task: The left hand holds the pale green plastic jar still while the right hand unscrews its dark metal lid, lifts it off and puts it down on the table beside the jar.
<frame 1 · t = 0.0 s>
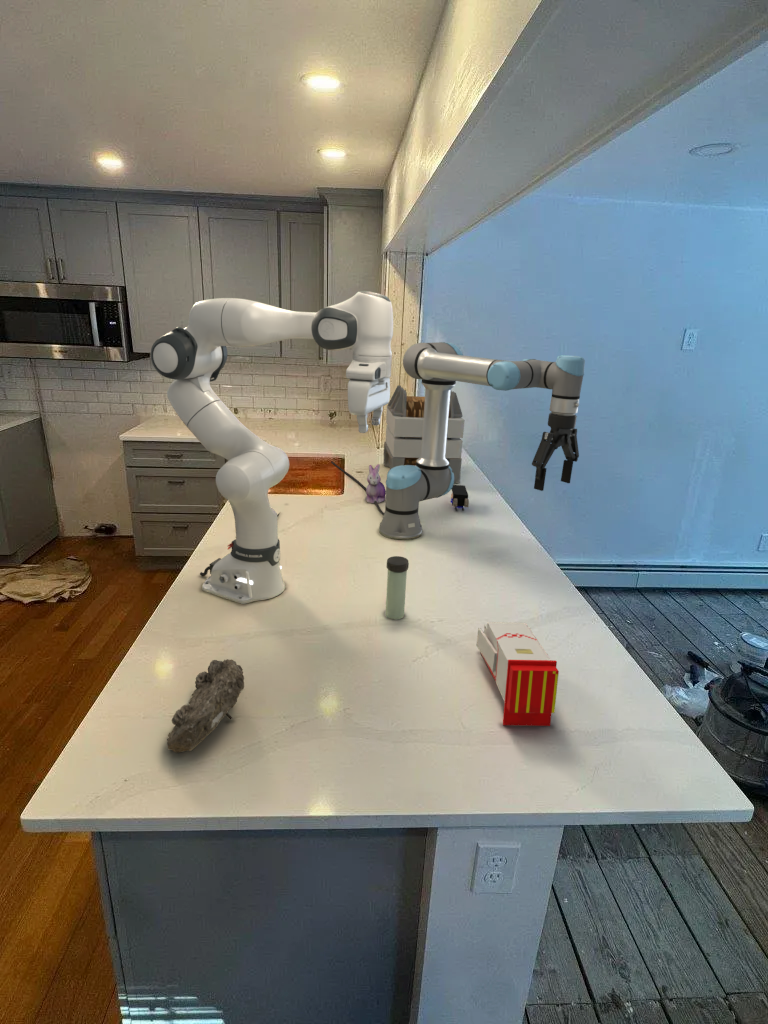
left hand: (369, 428, 133), 48 cm above the counter, tool pointing down, fingers open, 8 cm apart
right hand: (552, 485, 166), 28 cm above the counter, tool pointing down, fingers open, 13 cm apart
lid: (397, 561, 142), point 15 cm above the counter, screwed on, not yet turned
figurine: (375, 500, 233), on the counter
toy: (509, 682, 122), on the counter
grey slatted crate: (419, 473, 275), on the counter
jar: (394, 614, 147), on the counter
figurine character: (458, 507, 230), on the counter
feather: (278, 516, 211), on the counter
fossil: (212, 717, 108), on the counter
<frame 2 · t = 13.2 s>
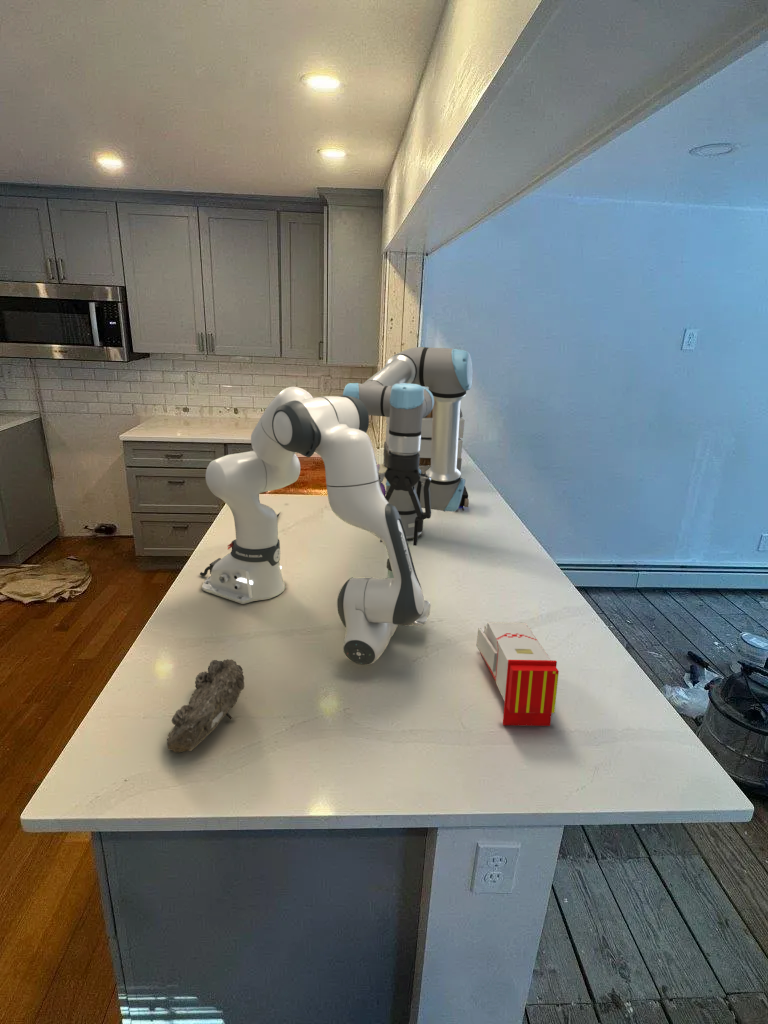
left hand: (396, 591, 146), 6 cm above the counter, tool horizontal, fingers closed on jar, 5 cm apart
right hand: (398, 541, 140), 21 cm above the counter, tool pointing down, fingers open, 7 cm apart
jar: (394, 614, 147), on the counter, touching left hand
everything else where it was.
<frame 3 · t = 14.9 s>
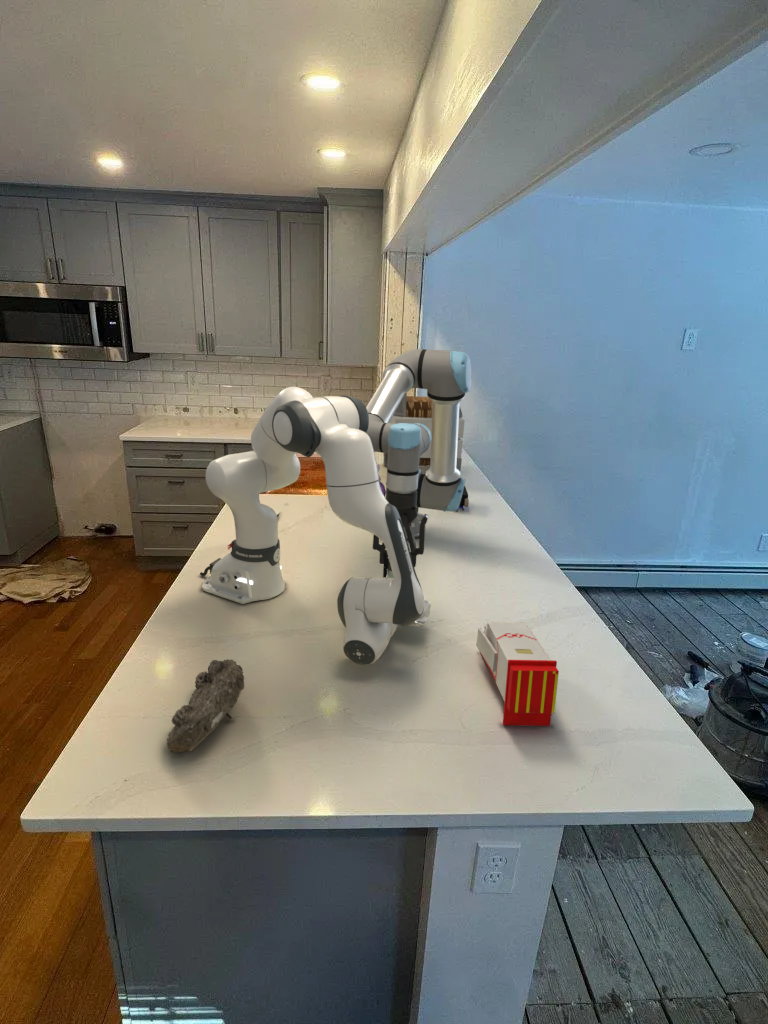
left hand: (396, 591, 146), 6 cm above the counter, tool horizontal, fingers closed on jar, 5 cm apart
right hand: (397, 576, 143), 11 cm above the counter, tool pointing down, fingers closed on lid, 5 cm apart
lid: (397, 561, 142), point 15 cm above the counter, screwed on, not yet turned, touching right hand
jar: (394, 614, 147), on the counter, touching left hand
everything else where it was.
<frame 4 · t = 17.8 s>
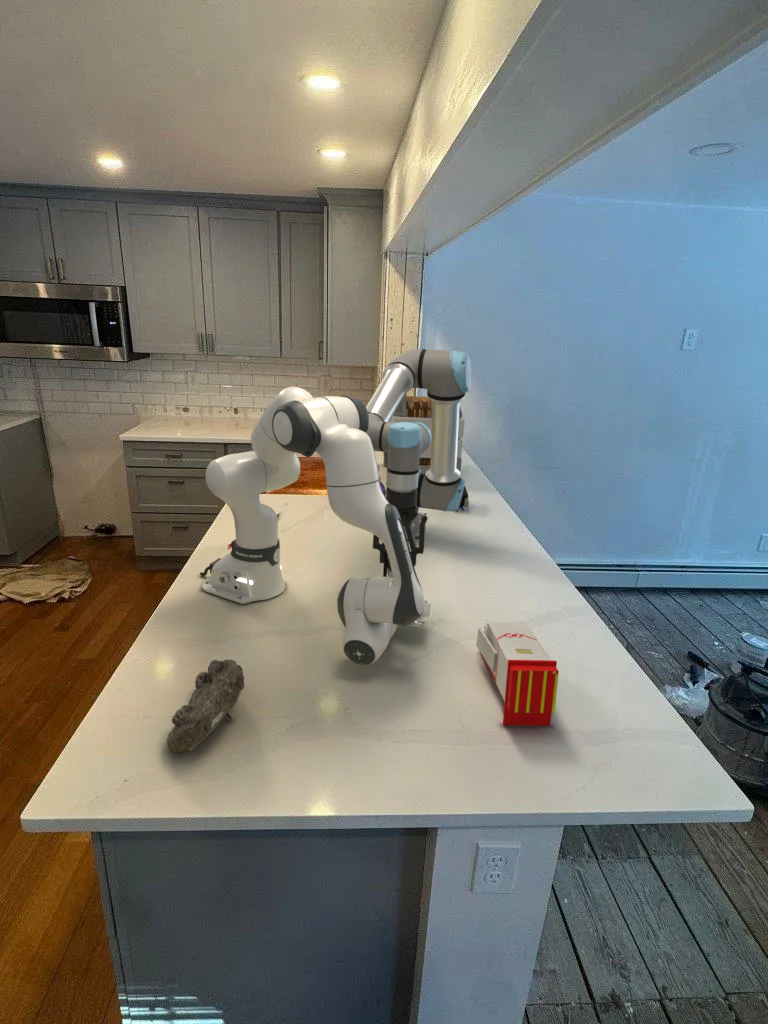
left hand: (396, 591, 146), 6 cm above the counter, tool horizontal, fingers closed on jar, 5 cm apart
right hand: (397, 575, 143), 11 cm above the counter, tool pointing down, fingers closed on lid, 5 cm apart
lid: (397, 561, 142), point 15 cm above the counter, turned 75° so far, risen 0.2 cm, still on its thread, touching right hand
jar: (394, 614, 147), on the counter, touching left hand
everything else where it was.
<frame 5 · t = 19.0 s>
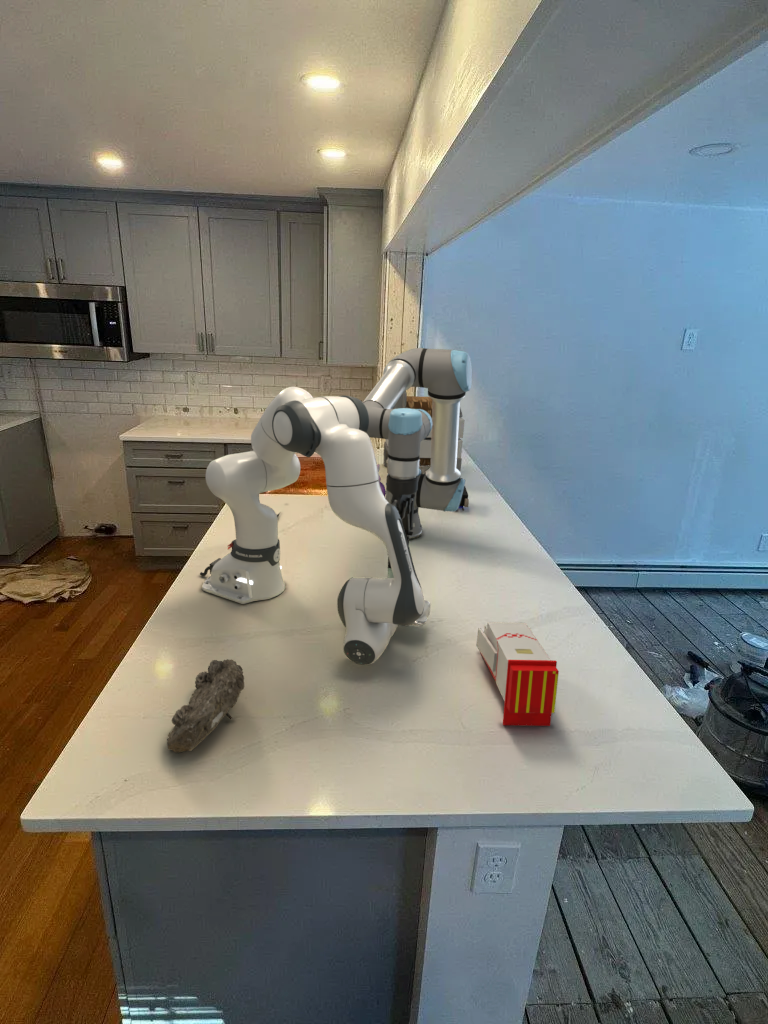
left hand: (396, 591, 146), 6 cm above the counter, tool horizontal, fingers closed on jar, 5 cm apart
right hand: (397, 563, 143), 14 cm above the counter, tool pointing down, fingers closed on lid, 5 cm apart
lid: (398, 548, 141), point 19 cm above the counter, off its thread, touching right hand
jar: (394, 614, 147), on the counter, touching left hand
everything else where it was.
when the right hand's fingers open (0 cm above the counter, at t = 23.1 s): lid stays where it is, point 2 cm above the counter.
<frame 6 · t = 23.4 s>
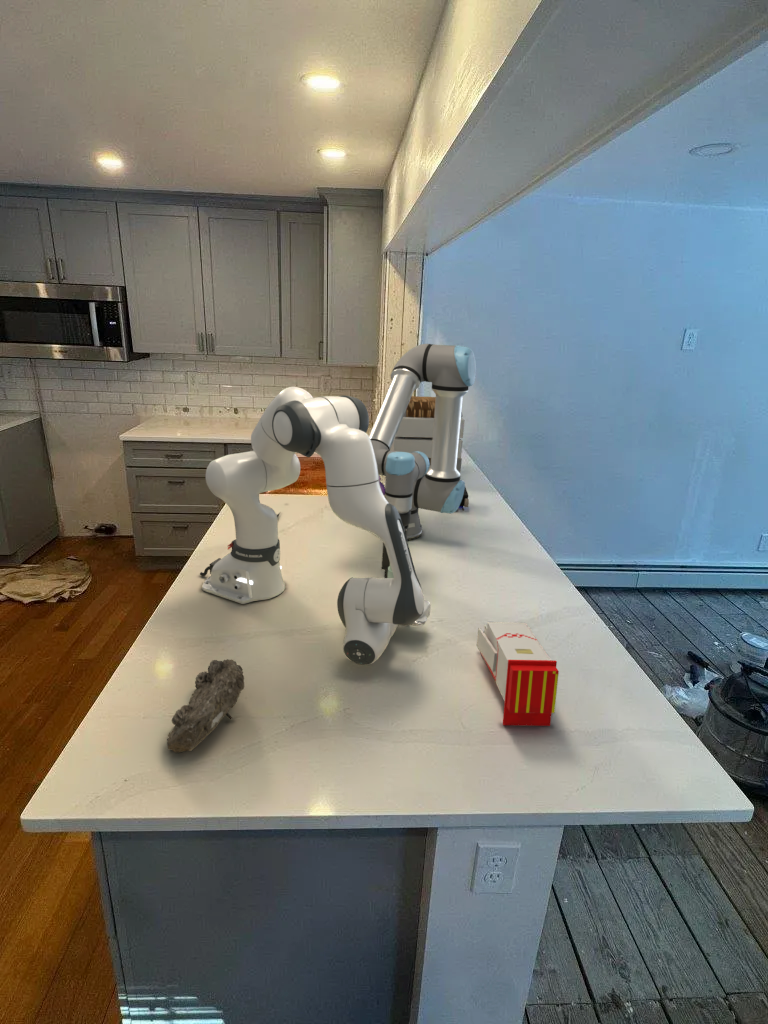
left hand: (396, 591, 146), 6 cm above the counter, tool horizontal, fingers closed on jar, 5 cm apart
right hand: (392, 585, 162), 0 cm above the counter, tool pointing down, fingers open, 6 cm apart
lid: (393, 580, 162), point 2 cm above the counter, off its thread
jar: (394, 614, 147), on the counter, touching left hand
everything else where it was.
when the left hand's fingers open (6 cm above the counter, at t = 24.8 s): jar stays where it is, on the counter.
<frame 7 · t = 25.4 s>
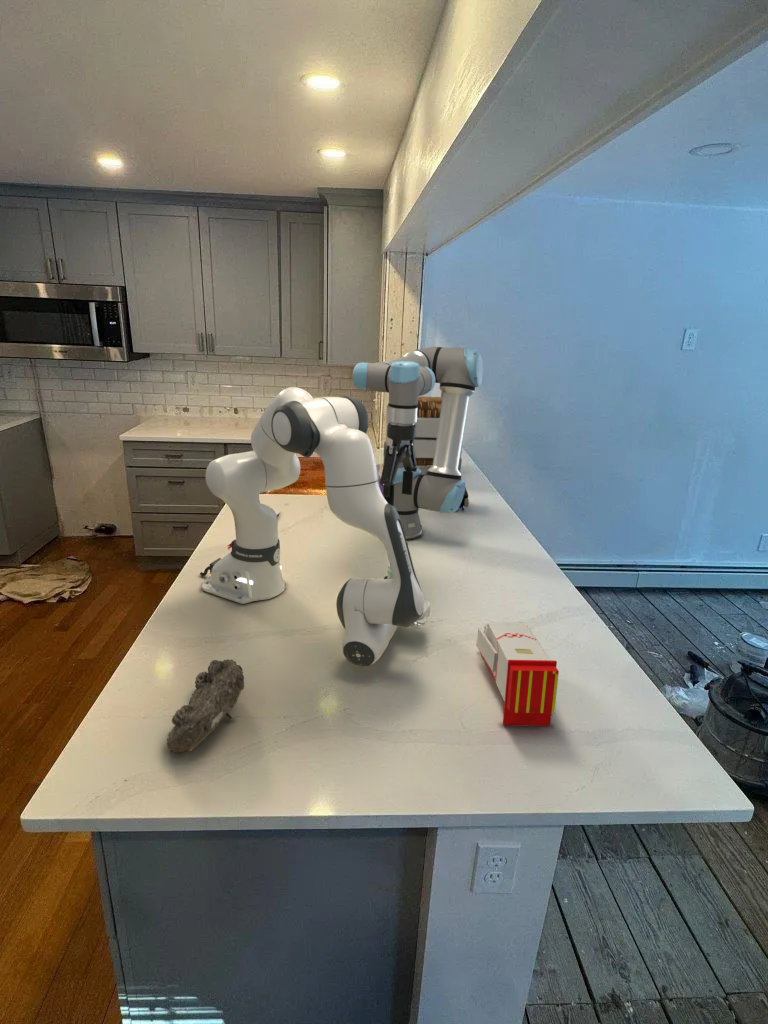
left hand: (396, 592, 145), 6 cm above the counter, tool horizontal, fingers open, 8 cm apart
right hand: (397, 500, 154), 26 cm above the counter, tool pointing down, fingers open, 13 cm apart
jar: (394, 614, 147), on the counter
everything else where it was.
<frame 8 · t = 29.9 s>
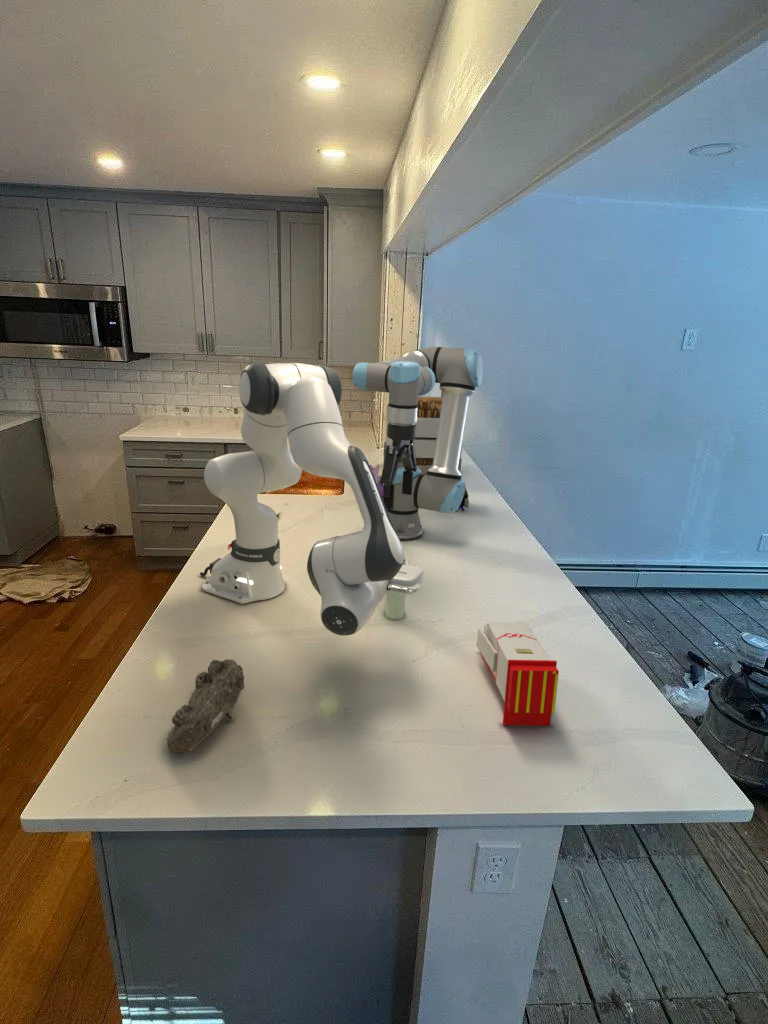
left hand: (385, 559, 130), 21 cm above the counter, tool horizontal, fingers open, 8 cm apart
right hand: (397, 500, 154), 26 cm above the counter, tool pointing down, fingers open, 13 cm apart
nothing on the counter moved.
at the end: lid came off its thread; lid point 1.7 cm above the counter; the left hand is holding nothing; the right hand is holding nothing; jar tilted 0°; jar moved 0.0 cm from its start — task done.
